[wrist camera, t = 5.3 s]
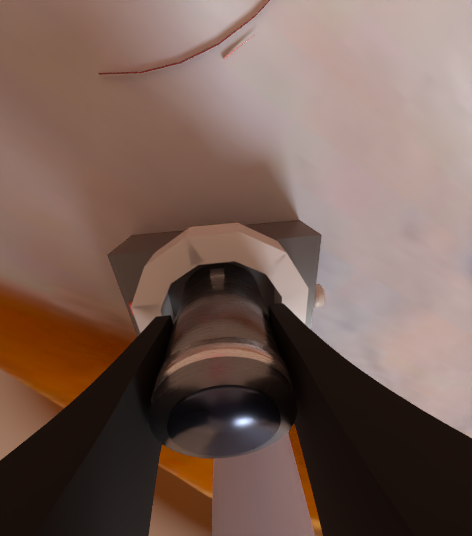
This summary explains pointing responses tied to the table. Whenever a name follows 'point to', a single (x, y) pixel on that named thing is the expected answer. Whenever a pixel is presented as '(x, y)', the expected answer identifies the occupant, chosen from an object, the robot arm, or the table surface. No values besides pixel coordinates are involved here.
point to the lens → (222, 371)
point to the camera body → (219, 251)
